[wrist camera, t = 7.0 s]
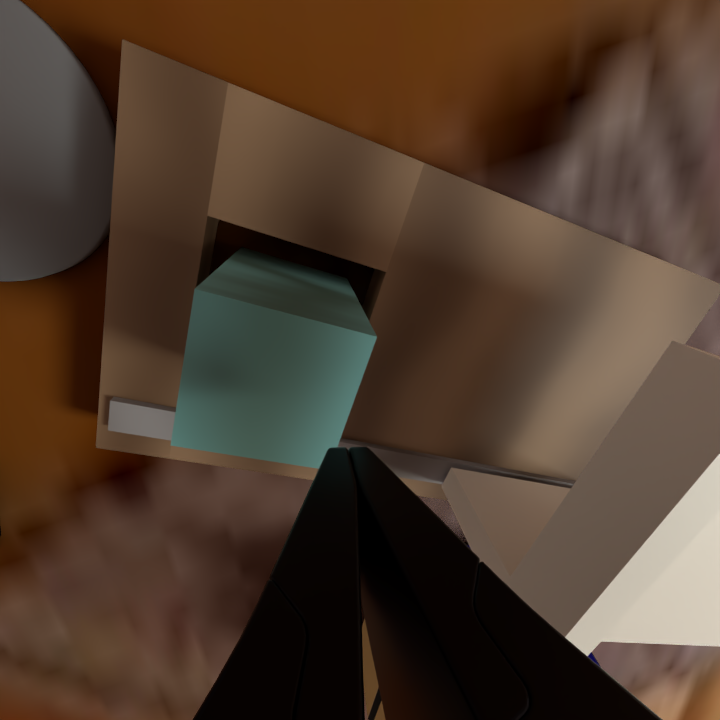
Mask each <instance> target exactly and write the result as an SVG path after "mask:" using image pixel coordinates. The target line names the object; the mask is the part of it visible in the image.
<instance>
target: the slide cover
mask: <svg viewBox="0 0 720 720" xmlns="http://www.w3.org/2000/svg"><path fill="white" fill-rule="evenodd" d="M441 487H442V489H443V491H444V493H445V495H446V497H447V500H448V502H449V504H450V506H451V508H452V510H453V512H454V514H455V517H456V519H457V521H458V523H459V525H460V527H461V529H462V531H463V533H464V536H465V538H466V540H467V542H468V544H469V546H470V548H471V550H472V551H473V552H474V553H475V554H476V555H477V556H478V557H479V558H480V562H484V563H485V564H486V565H487V566H488V567H489V568H490V569H491V570H492V571H493V572H494V573H495V574H496V575H497V576H498V577H499V578H500V579H501V580H502V581H503V582H505V583H506V584H507V585H508V586H509V587H510V588H511V589H512V590H513V591H514V592H515V593H516V594H517V595H518V596H519V597H520V598H521V599H522V600H523V601H524V602H526V603H527V604H528V605H529V606H530V607H531V608H532V609H533V610H534V611H536V612H537V613H538V614H539V615H540V616H541V617H542V618H544V619H545V620H546V621H547V622H548V623H549V624H550V625H551V626H553V627H554V628H555V629H556V630H557V631H558V632H559V633H561V634H562V635H563V636H564V637H565V638H566V639H568V640H569V641H570V642H571V643H572V644H573V645H575V646H576V647H577V648H578V649H579V650H581V651H582V652H583V653H584V654H585V655H586V656H588V655H589V654H590V653H591V652H592V651H593V650H594V649H595V647H596V646H597V645H598V644H599V643H600V642H601V641H604V642H627V643H651V644H675V645H698V646H720V356H717V355H714V354H711V353H708V352H705V351H702V350H699V349H696V348H693V347H690V346H687V345H684V344H681V343H678V342H675V341H672V342H671V343H670V345H669V346H668V348H667V349H666V351H665V352H664V354H663V355H662V356H661V358H660V359H659V361H658V362H657V364H656V365H655V367H654V368H653V370H652V371H651V373H650V374H649V375H648V377H647V378H646V380H645V381H644V383H643V384H642V386H641V387H640V389H639V390H638V391H637V393H636V394H635V396H634V397H633V399H632V400H631V402H630V403H629V405H628V406H627V407H626V409H625V410H624V412H623V413H622V415H621V416H620V418H619V419H618V421H617V422H616V424H615V425H614V426H613V428H612V429H611V431H610V432H609V434H608V435H607V437H606V438H605V440H604V441H603V442H602V444H601V445H600V447H599V448H598V450H597V451H596V453H595V454H594V456H593V457H592V459H591V460H590V461H589V463H588V464H587V466H586V467H585V469H584V470H583V472H582V473H581V475H580V476H579V477H578V479H577V480H576V482H575V483H574V485H573V486H572V488H565V487H559V486H554V485H548V484H542V483H537V482H531V481H525V480H520V479H514V478H508V477H502V476H497V475H491V474H485V473H480V472H474V471H468V470H463V469H457V468H451V469H450V471H449V473H448V475H447V477H446V478H445V480H444V482H443V484H442V486H441Z"/></svg>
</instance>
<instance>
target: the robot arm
mask: <svg viewBox="0 0 720 720" xmlns="http://www.w3.org/2000/svg"><path fill="white" fill-rule="evenodd" d="M0 536H1V528H0ZM361 603H362V608H363V613H364V618H365V623H366V628H367V632H368V637H369V642H370V647H371V652H372V657H373V661H374V666H375V671H376V676H377V681H378V686H379V690H380V695H381V700H382V705H383V710H384V715H385V720H662V719H661V718H660V717H659V716H657V715H656V714H655V713H654V712H653V711H651V710H650V709H649V708H648V707H647V706H646V705H644V704H643V703H642V702H641V701H640V700H638V699H637V698H636V697H635V696H634V695H633V694H631V693H630V692H629V691H628V690H627V689H625V688H624V687H623V686H622V685H621V684H620V683H618V682H617V681H616V680H615V679H614V678H612V677H611V676H610V675H609V674H608V673H607V672H605V671H604V670H603V669H602V668H601V667H599V666H598V665H597V664H596V663H595V662H594V661H592V660H591V659H590V658H589V657H588V656H586V655H585V654H584V653H583V652H582V651H581V650H579V649H578V648H577V647H576V646H575V645H573V644H572V643H571V642H570V641H569V640H568V639H566V638H565V637H564V636H563V635H562V634H561V633H559V632H558V631H557V630H556V629H555V628H554V627H553V626H551V625H550V624H549V623H548V622H547V621H546V620H545V619H544V618H542V617H541V616H540V615H539V614H538V613H537V612H536V611H534V610H533V609H532V608H531V607H530V606H529V605H528V604H527V603H526V602H524V601H523V600H522V599H521V598H520V597H519V596H518V595H517V594H516V593H515V592H514V591H513V590H512V589H511V588H510V587H509V586H508V585H507V584H506V583H505V582H503V581H502V580H501V579H500V578H499V577H498V576H497V575H496V574H495V573H494V572H493V571H492V570H491V569H490V568H489V567H488V566H487V565H486V564H485V563H484V562H480V558H479V557H478V556H477V555H476V554H475V553H474V552H473V551H472V550H471V549H470V548H469V547H468V546H467V545H466V544H465V543H464V542H463V541H462V540H461V539H460V538H459V537H458V536H457V535H456V534H455V533H454V532H453V531H452V530H451V529H450V528H449V527H448V526H447V525H446V524H445V523H444V522H443V521H442V520H441V519H440V518H439V517H438V516H437V515H436V514H435V513H434V512H433V511H432V510H431V509H430V508H429V507H428V506H427V505H426V504H425V503H424V502H423V501H422V500H421V499H420V498H419V497H418V496H417V495H416V494H415V493H414V492H413V491H412V490H411V489H410V488H409V487H408V486H407V485H406V484H405V483H404V482H403V481H402V480H401V479H400V478H399V477H398V476H397V475H396V474H395V473H394V472H393V471H392V470H391V469H390V468H389V467H388V466H387V465H386V464H385V463H384V462H383V461H381V460H380V459H379V458H378V457H377V456H376V455H375V454H374V453H373V452H372V451H371V450H370V449H369V448H368V447H350V448H349V450H348V449H347V448H346V447H331V448H329V449H328V450H327V452H326V454H325V456H324V459H323V461H322V463H321V465H320V467H319V470H318V472H317V474H316V476H315V478H314V481H313V483H312V485H311V487H310V489H309V491H308V494H307V496H306V498H305V500H304V502H303V505H302V507H301V509H300V511H299V513H298V516H297V518H296V520H295V522H294V524H293V527H292V529H291V531H290V533H289V535H288V538H287V540H286V542H285V544H284V546H283V549H282V551H281V553H280V555H279V557H278V560H277V562H276V564H275V566H274V568H273V570H272V573H271V575H270V580H268V581H267V583H266V585H265V587H264V590H263V592H262V594H261V596H260V598H259V600H258V603H257V605H256V607H255V609H254V611H253V613H252V615H251V617H250V619H249V621H248V623H247V625H246V627H245V629H244V631H243V633H242V635H241V637H240V639H239V641H238V643H237V644H236V646H235V648H234V650H233V651H232V653H231V655H230V657H229V659H228V660H227V662H226V664H225V666H224V667H223V669H222V671H221V673H220V674H219V676H218V678H217V680H216V682H215V683H214V685H213V687H212V688H211V690H210V692H209V693H208V695H207V697H206V698H205V700H204V702H203V703H202V705H201V707H200V708H199V710H198V712H197V713H196V715H195V717H194V718H193V720H365V715H364V681H363V647H362V613H361Z"/></svg>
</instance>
